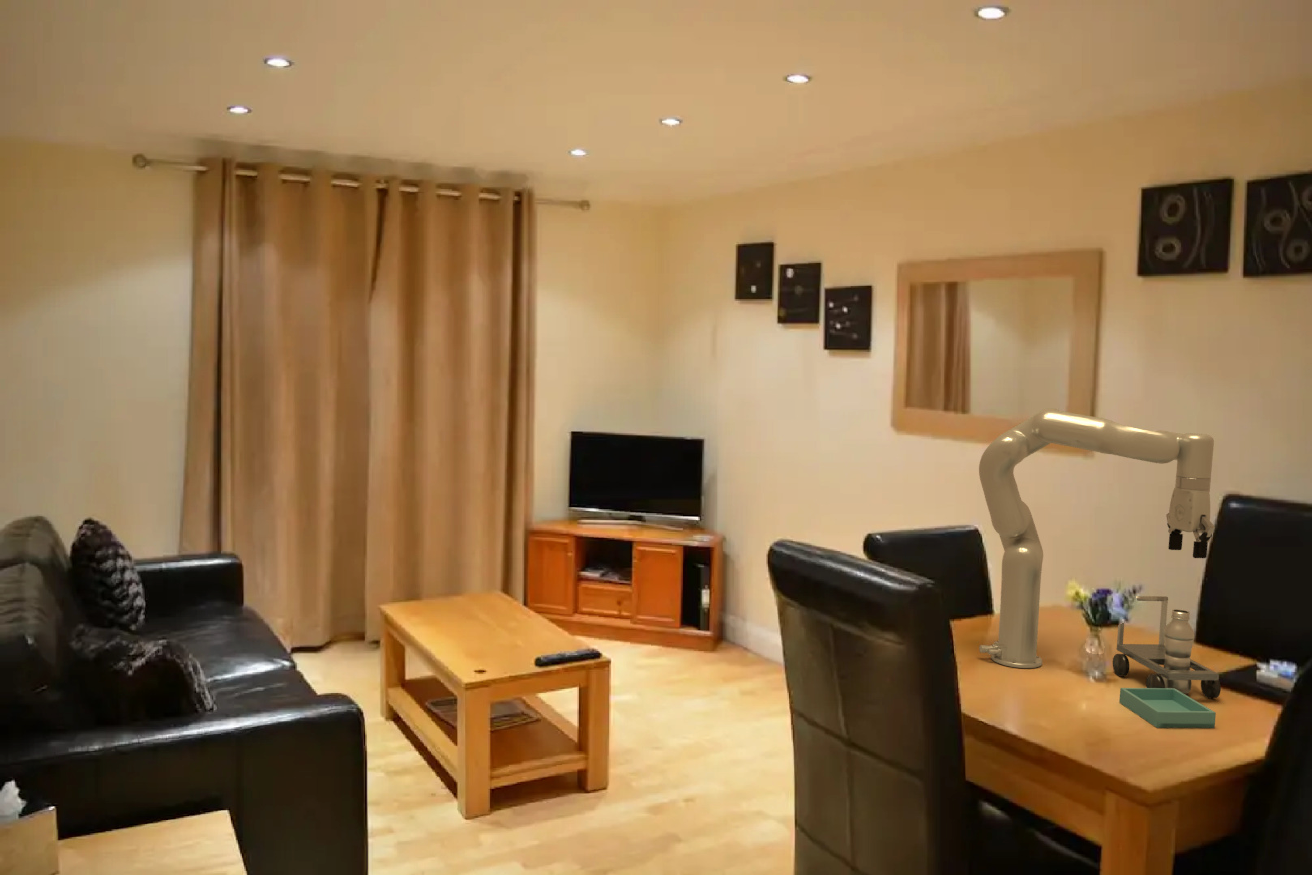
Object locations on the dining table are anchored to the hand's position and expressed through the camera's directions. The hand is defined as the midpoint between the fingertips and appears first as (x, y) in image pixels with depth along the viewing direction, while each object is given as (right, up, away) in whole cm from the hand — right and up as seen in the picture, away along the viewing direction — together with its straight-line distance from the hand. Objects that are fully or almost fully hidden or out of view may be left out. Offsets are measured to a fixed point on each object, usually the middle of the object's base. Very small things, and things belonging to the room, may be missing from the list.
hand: (1187, 553), depth 252 cm
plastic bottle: (-5, -33, -5) cm, 34 cm away
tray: (-15, -34, -20) cm, 42 cm away
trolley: (-6, -32, +1) cm, 33 cm away
